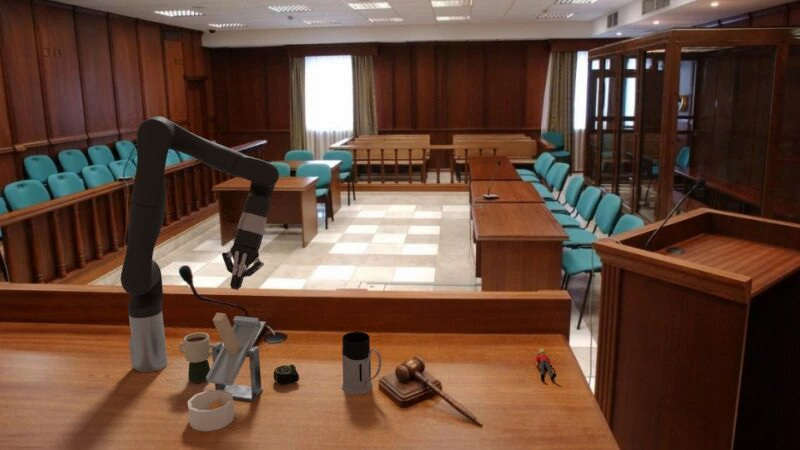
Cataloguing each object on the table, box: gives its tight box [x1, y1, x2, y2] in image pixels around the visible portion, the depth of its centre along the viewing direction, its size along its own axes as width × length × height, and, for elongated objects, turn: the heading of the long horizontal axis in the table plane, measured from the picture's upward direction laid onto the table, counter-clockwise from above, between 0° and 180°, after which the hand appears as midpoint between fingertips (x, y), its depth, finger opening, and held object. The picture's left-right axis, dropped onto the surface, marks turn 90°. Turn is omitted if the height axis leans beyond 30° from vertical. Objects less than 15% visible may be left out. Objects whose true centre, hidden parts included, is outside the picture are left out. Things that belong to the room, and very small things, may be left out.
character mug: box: [178, 332, 215, 383], centre depth 182 cm, size 11×7×13 cm, turn 82°
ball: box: [210, 401, 222, 410], centre depth 164 cm, size 3×3×3 cm
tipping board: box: [206, 312, 262, 385], centre depth 168 cm, size 9×20×16 cm, turn 166°
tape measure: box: [273, 364, 300, 385], centre depth 182 cm, size 7×7×4 cm
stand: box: [211, 341, 264, 402], centre depth 173 cm, size 12×6×14 cm, turn 76°
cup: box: [187, 389, 235, 433], centre depth 161 cm, size 11×11×6 cm
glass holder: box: [341, 331, 382, 395], centre depth 175 cm, size 9×14×15 cm, turn 44°
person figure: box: [534, 348, 557, 382], centre depth 189 cm, size 5×4×18 cm
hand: (234, 289), depth 181 cm, fingers closed
